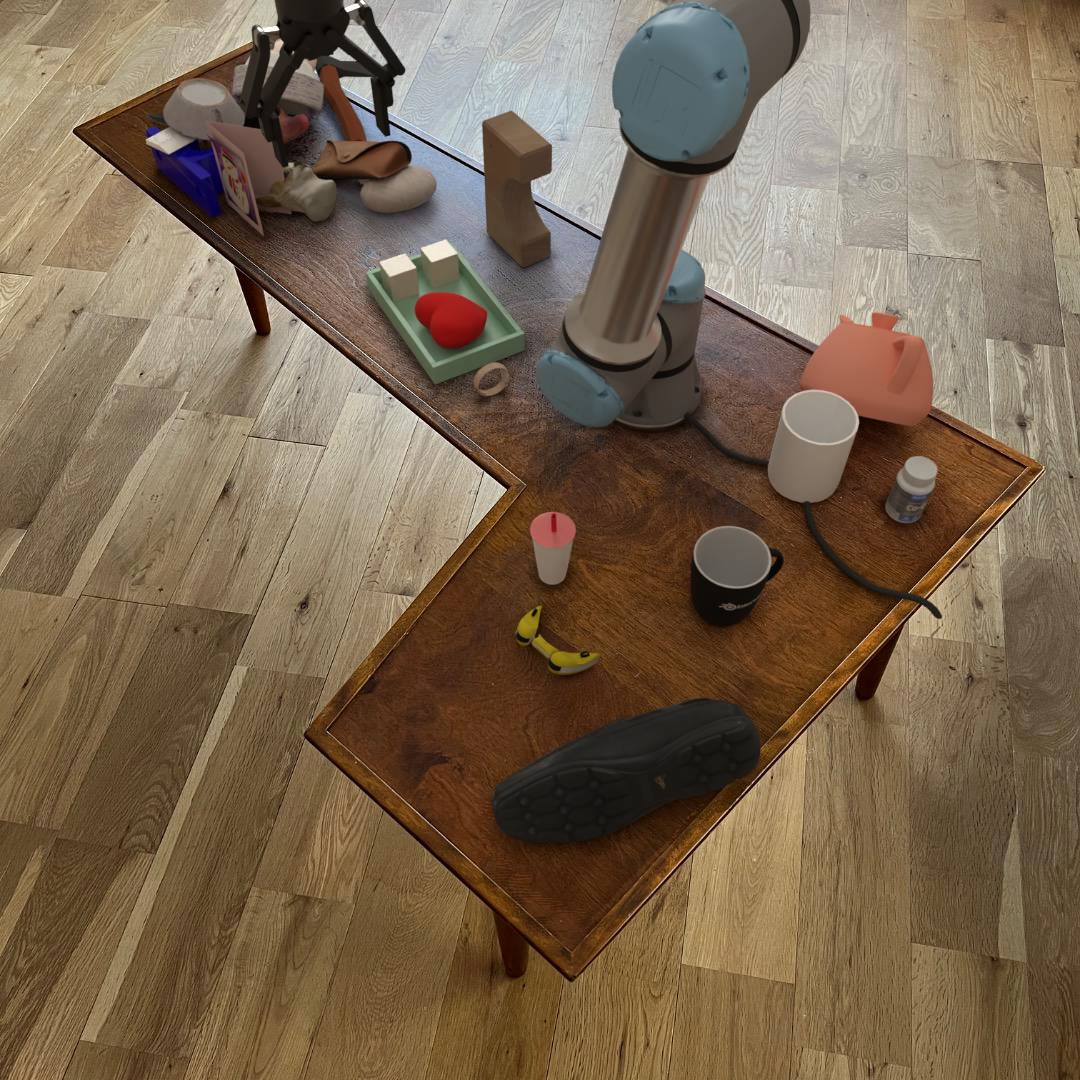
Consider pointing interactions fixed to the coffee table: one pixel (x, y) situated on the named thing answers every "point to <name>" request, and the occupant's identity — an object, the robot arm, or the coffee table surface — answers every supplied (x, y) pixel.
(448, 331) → the heart
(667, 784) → the loafer
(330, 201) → the ceramic sculpture
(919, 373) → the teapot
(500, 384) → the beige ring band
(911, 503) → the pill bottle
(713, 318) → the coffee table surface
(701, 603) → the mug
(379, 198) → the decorative stone
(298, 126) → the bowl
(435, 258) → the cream block
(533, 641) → the yellow curved segmented toy
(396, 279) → the beige short block
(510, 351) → the ornament tray
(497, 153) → the decorative block
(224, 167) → the greeting card
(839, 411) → the mug
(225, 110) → the bowl
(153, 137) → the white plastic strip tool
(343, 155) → the sunglasses case
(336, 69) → the hand axe
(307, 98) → the paper bowls
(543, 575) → the cup
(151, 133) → the mounting bracket
